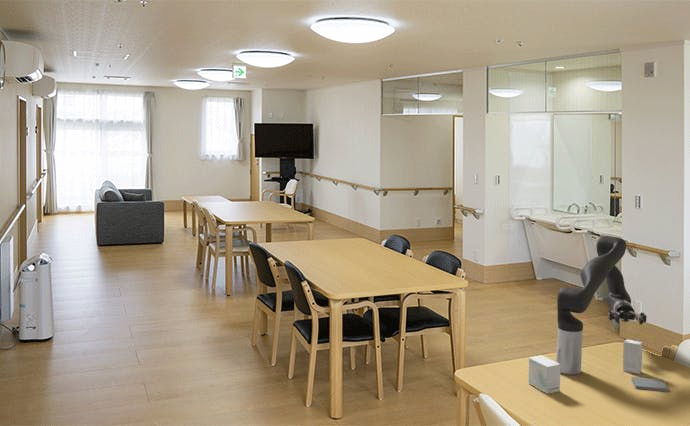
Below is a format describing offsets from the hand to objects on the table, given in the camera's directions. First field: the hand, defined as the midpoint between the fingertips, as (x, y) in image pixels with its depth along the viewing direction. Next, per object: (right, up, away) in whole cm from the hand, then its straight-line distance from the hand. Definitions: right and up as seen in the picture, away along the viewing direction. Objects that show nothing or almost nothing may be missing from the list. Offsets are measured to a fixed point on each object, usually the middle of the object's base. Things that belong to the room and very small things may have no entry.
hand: (629, 321), depth 262 cm
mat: (-3, -20, -23) cm, 30 cm away
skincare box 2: (-3, -18, -9) cm, 20 cm away
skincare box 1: (-43, -20, -25) cm, 53 cm away
